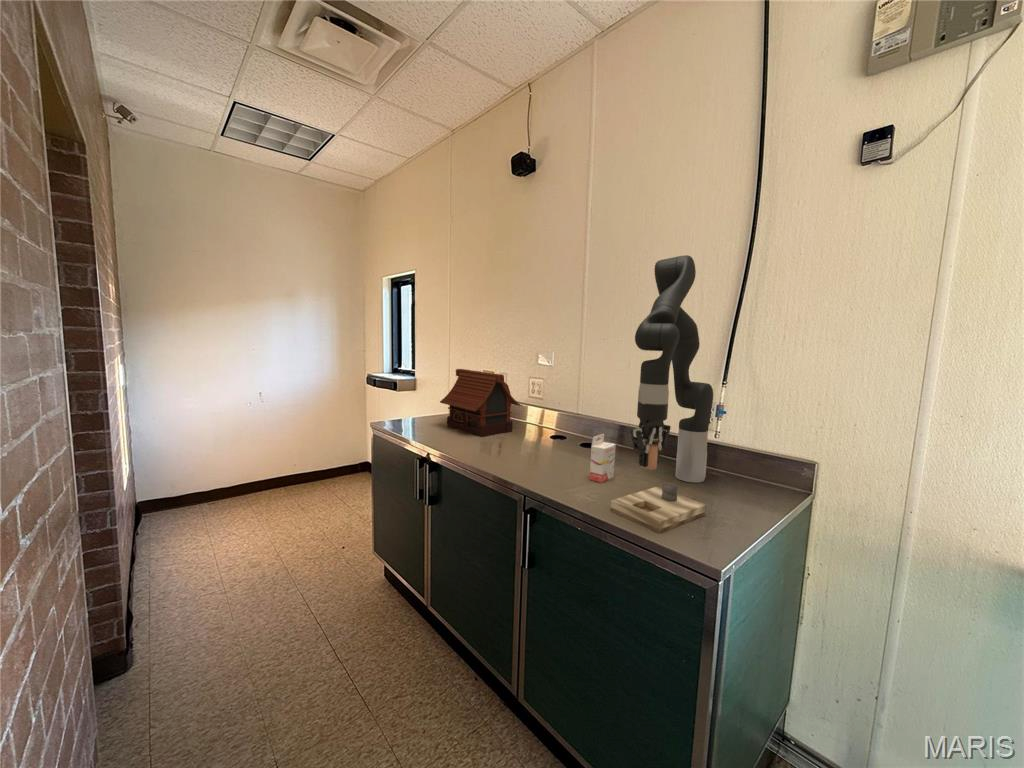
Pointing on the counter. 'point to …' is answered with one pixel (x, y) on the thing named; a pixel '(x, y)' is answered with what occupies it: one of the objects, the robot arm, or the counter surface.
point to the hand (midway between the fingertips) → (648, 464)
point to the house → (479, 403)
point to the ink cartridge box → (602, 460)
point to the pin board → (658, 508)
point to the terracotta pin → (652, 457)
